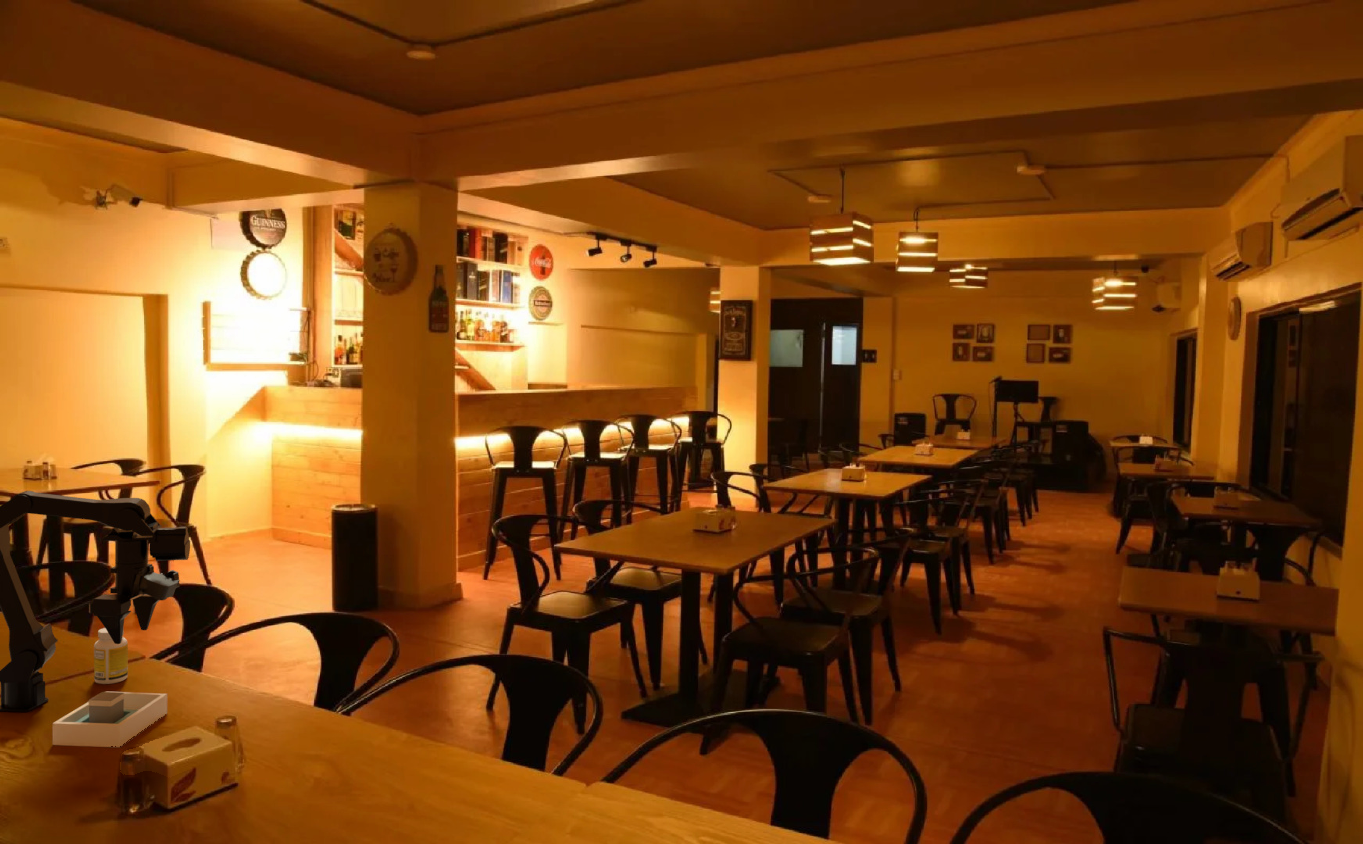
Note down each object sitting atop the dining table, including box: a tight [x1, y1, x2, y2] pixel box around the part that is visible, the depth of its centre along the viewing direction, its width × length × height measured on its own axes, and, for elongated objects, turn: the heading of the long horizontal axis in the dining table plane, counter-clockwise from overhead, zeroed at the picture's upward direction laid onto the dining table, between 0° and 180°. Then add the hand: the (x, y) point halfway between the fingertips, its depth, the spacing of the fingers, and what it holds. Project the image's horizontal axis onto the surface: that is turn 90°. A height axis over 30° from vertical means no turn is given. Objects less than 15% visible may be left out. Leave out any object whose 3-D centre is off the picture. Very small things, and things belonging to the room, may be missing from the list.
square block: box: [88, 691, 124, 724], centre depth 174 cm, size 4×4×6 cm
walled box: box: [52, 691, 168, 748], centre depth 176 cm, size 12×16×4 cm
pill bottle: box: [93, 627, 129, 685], centre depth 200 cm, size 6×6×11 cm
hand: (131, 636), depth 190 cm, fingers open, 9 cm apart
